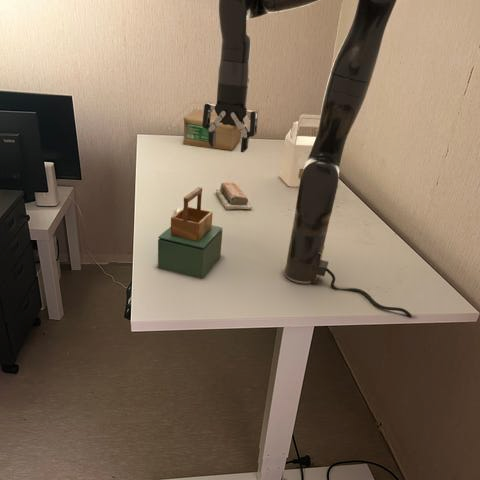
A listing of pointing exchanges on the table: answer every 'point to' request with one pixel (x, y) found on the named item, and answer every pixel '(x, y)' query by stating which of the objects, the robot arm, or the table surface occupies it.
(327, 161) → the robot arm
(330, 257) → the table surface
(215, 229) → the flap
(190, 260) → the carton
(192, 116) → the paper package
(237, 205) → the packaged product
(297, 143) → the gable box
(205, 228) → the basket
